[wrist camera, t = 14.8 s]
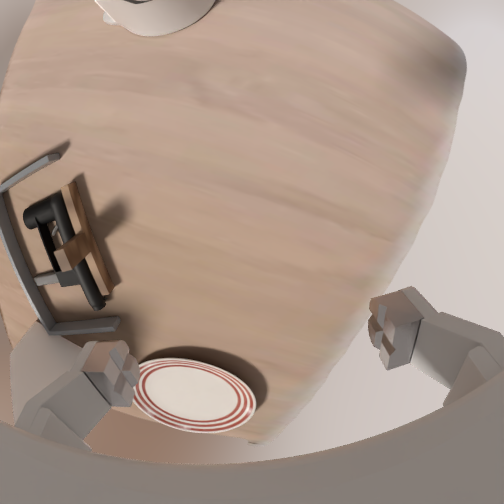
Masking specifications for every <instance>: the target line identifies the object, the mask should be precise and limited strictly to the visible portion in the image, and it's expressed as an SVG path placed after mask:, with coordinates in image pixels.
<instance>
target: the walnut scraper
mask: <svg viewBox="0 0 504 504" xmlns="http://www.w3.org/2000/svg"><path fill="white" fill-rule="evenodd" d="M61 191H62V195H63V198H64V201H65V204H66V207H67V211H68V214H69V216H70V219H71V222H72V225H73V228H74V231H75V233H76V235H75V236H74V237H73V238H71V239H70V240H69V241H67V242H66V243H65V244H63V245H62V246H61V247H59V248H58V249H57V250H56V251H54V254H55V257H56V259H57V261H58V264H59V266H60V268H61V270H62V272H65V271H69V270H72V269H73V268H74V267H75V266H76V265H77V264H78V263H79V262H80V261H82V260H83V259H84V258H85V259H86V261H87V263H88V266H89V268H90V270H91V273H92V275H93V277H94V279H95V281H96V284H97V286H98V288H99V290H100V292H101V294H102V296H103V295H108V294H110V293H111V291H112V290H113V288H114V285H113V283H112V280H111V278H110V276H109V274H108V271H107V269H106V267H105V264H104V262H103V259H102V257H101V255H100V252H99V250H98V247H97V244H96V242H95V239H94V237H93V234H92V231H91V228H90V226H89V223H88V220H87V217H86V214H85V211H84V208H83V205H82V202H81V199H80V195H79V192H78V189H77V185H76V182H73V183H71V184H68V185H66V186H64V187H61Z"/></svg>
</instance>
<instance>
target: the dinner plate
mask: <svg viewBox="0 0 504 504" xmlns="http://www.w3.org/2000/svg"><path fill="white" fill-rule="evenodd" d="M139 367H140V379H139V382H138V384H136V385H135V386H134V387H133V389H134V391H135V395H134V398H133V402H134V403H135V404H136V405H137V406H138V408H139V409H141V410H142V411H143V412H144V413H145V414H147V415H148V416H150V417H151V418H153V419H155V420H156V421H158V422H160V423H162V424H165V425H167V426H170V427H173V428H176V429H180V430H184V431H189V432H197V433H217V432H224V431H228V430H232V429H234V428H237V427H239V426H241V425H243V424H244V423H246V422H247V421H248V420H249V419H250V418H251V417H252V416H253V414H254V412H255V409H256V399H255V396H254V394H253V392H252V391H251V389H250V388H249V387H248V386H247V385H246V384H245V383H244V382H243V381H242V380H241V379H239V378H238V377H236V376H235V375H233V374H231V373H229V372H228V371H225V370H223V369H221V368H219V367H216V366H213V365H210V364H207V363H204V362H200V361H196V360H191V359H184V358H160V359H153V360H149V361H146V362H143V363H141V364H139Z"/></svg>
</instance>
